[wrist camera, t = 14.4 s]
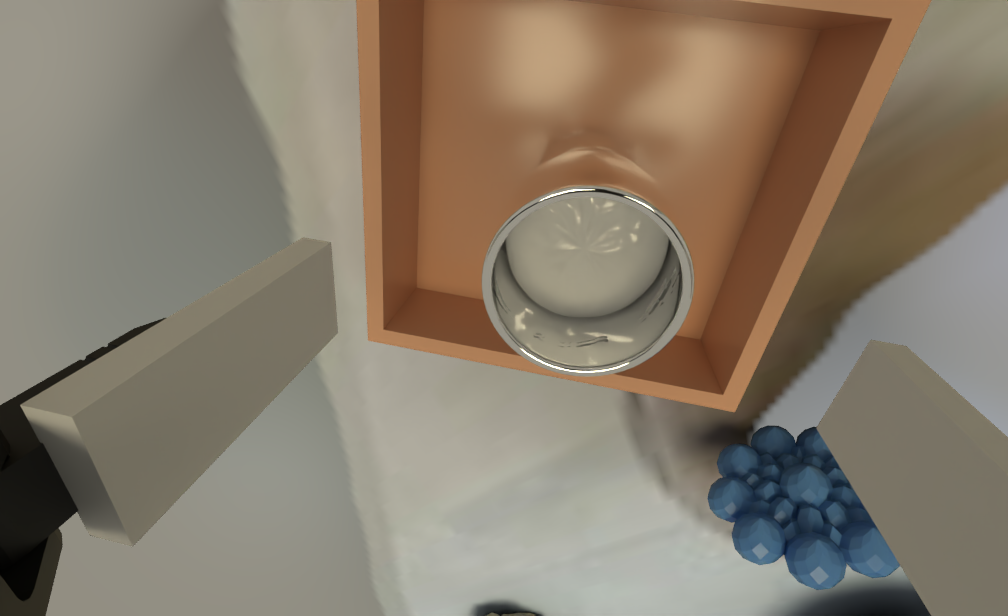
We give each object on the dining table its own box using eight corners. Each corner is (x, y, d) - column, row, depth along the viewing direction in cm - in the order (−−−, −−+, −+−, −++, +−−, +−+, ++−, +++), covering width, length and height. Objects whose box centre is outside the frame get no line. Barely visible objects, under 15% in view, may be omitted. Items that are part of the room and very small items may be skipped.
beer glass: (657, 128, 25) (734, 192, 12) (632, 246, 28) (671, 397, 15) (533, 117, 26) (478, 166, 13) (523, 233, 29) (470, 366, 16)
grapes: (689, 472, 37) (728, 627, 27) (688, 407, 35) (731, 554, 24) (850, 470, 35) (962, 643, 24) (863, 400, 32) (998, 562, 21)
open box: (841, 11, 22) (936, -11, 16) (706, 346, 32) (734, 412, 26) (413, -39, 24) (353, -75, 18) (407, 291, 34) (368, 340, 28)
